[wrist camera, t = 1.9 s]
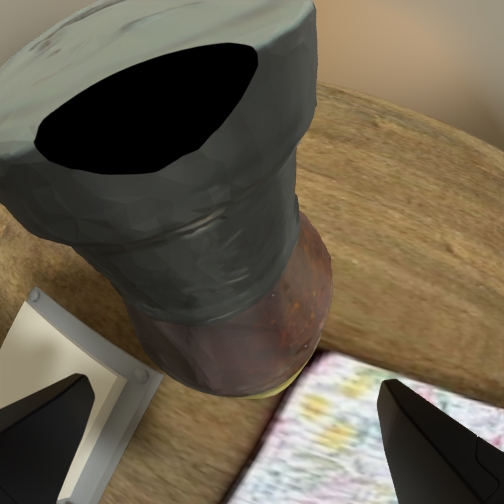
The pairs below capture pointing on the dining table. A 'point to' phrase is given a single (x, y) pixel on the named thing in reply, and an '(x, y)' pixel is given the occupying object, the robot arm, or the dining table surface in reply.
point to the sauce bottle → (179, 176)
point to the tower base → (124, 407)
